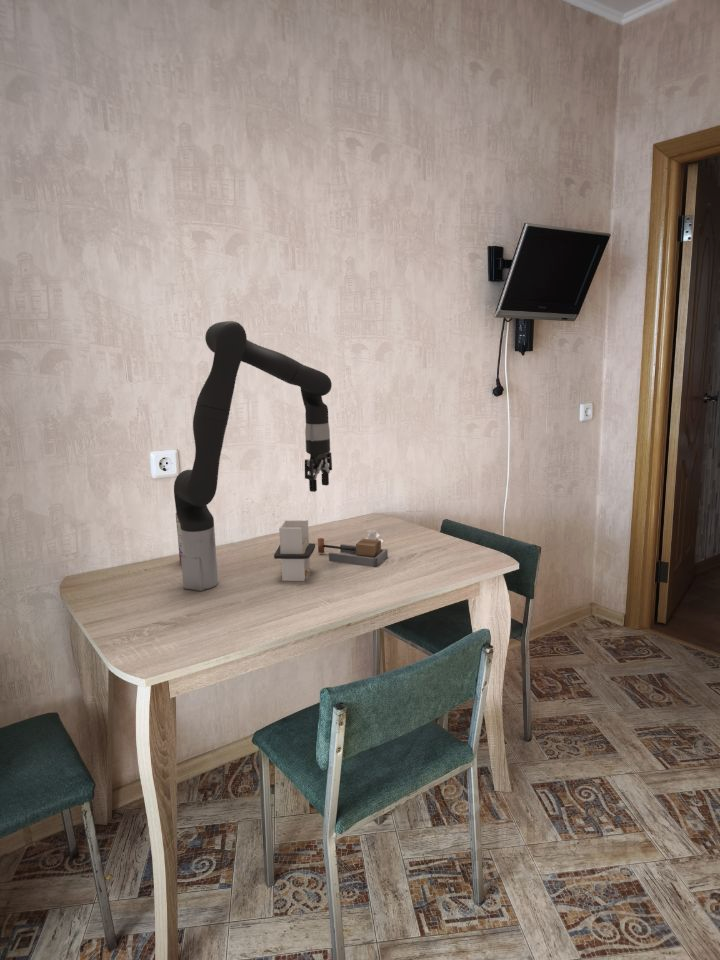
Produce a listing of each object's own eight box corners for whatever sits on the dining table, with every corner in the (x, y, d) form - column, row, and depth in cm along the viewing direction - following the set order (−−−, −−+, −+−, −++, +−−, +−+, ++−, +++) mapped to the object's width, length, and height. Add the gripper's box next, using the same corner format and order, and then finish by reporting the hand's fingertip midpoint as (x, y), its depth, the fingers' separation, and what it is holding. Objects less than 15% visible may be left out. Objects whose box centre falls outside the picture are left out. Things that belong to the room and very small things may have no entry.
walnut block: (374, 564, 203) (373, 546, 202) (314, 556, 211) (313, 539, 210) (381, 558, 208) (380, 540, 207) (322, 551, 216) (322, 533, 215)
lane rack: (376, 567, 201) (376, 559, 200) (328, 560, 207) (328, 553, 206) (387, 556, 209) (387, 549, 209) (341, 551, 216) (341, 543, 215)
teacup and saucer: (373, 536, 231) (373, 525, 230) (389, 542, 225) (389, 530, 224) (355, 542, 225) (354, 531, 224) (371, 548, 219) (371, 536, 218)
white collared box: (332, 594, 182) (330, 538, 178) (245, 593, 184) (241, 537, 180) (341, 562, 206) (340, 512, 203) (264, 562, 208) (262, 512, 205)
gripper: (317, 433, 212) (318, 482, 216) (295, 440, 200) (298, 492, 203) (338, 434, 209) (339, 484, 213) (318, 441, 197) (319, 494, 200)
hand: (319, 488), depth 208 cm, fingers open, 8 cm apart
